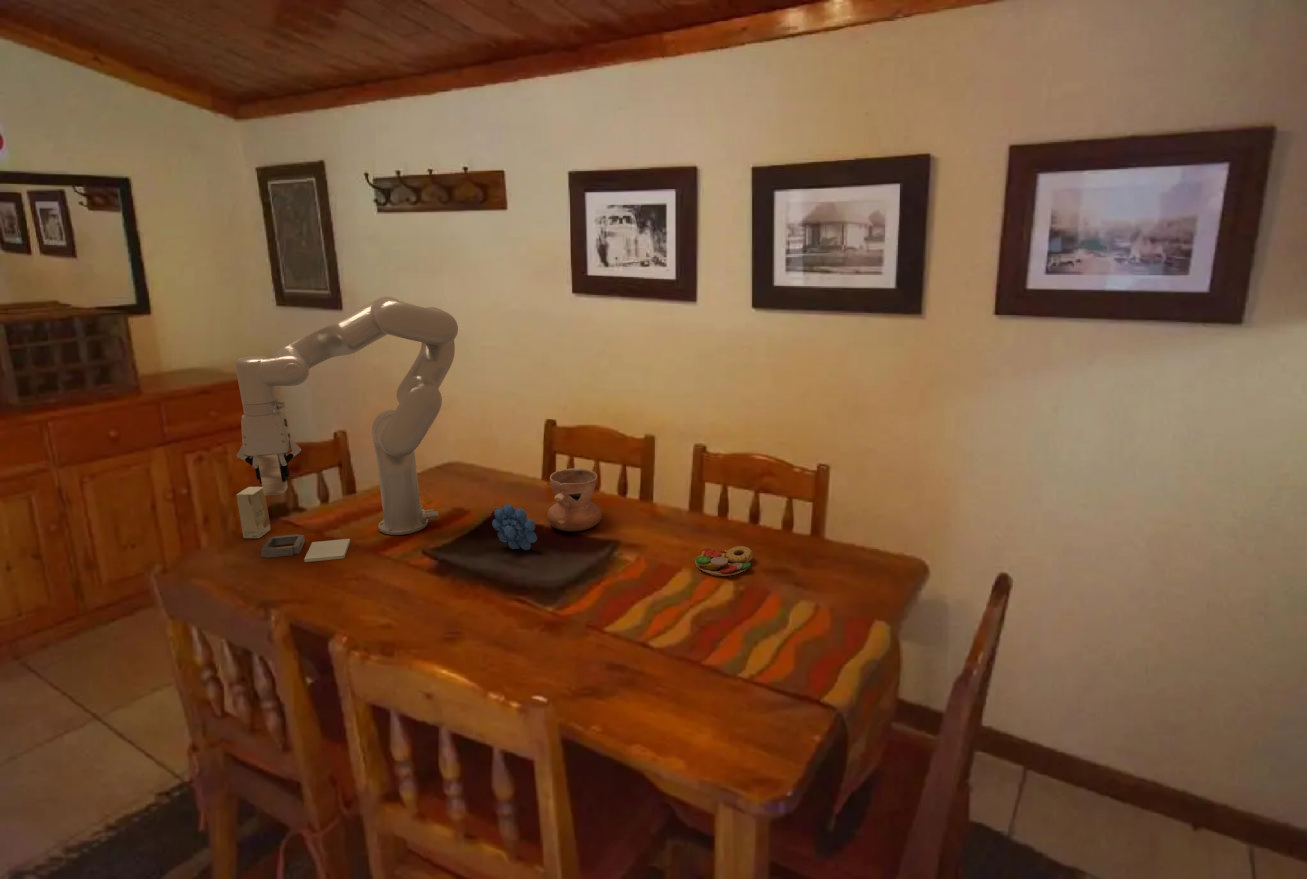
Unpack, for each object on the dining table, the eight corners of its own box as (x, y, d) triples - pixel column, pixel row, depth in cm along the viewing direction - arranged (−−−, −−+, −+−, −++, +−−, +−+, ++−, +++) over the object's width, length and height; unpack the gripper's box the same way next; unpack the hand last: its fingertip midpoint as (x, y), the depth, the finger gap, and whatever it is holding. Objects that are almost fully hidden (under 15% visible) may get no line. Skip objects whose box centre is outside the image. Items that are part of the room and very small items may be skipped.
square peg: (287, 487, 190) (281, 449, 187) (283, 493, 186) (276, 454, 183) (268, 489, 189) (261, 450, 186) (264, 495, 185) (256, 456, 182)
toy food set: (755, 558, 185) (756, 545, 184) (747, 583, 173) (747, 570, 172) (701, 552, 189) (701, 540, 188) (689, 576, 177) (689, 563, 176)
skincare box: (259, 539, 198) (252, 494, 194) (243, 539, 198) (235, 494, 194) (272, 528, 204) (264, 485, 201) (255, 528, 204) (248, 485, 201)
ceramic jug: (583, 542, 194) (582, 489, 190) (534, 532, 200) (532, 481, 196) (615, 518, 210) (614, 468, 206) (568, 509, 216) (567, 461, 212)
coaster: (350, 541, 196) (349, 538, 196) (344, 558, 187) (343, 555, 186) (312, 545, 194) (312, 542, 194) (304, 562, 185) (304, 559, 184)
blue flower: (486, 554, 188) (482, 509, 184) (498, 543, 194) (495, 499, 190) (530, 559, 185) (527, 513, 181) (541, 548, 191) (538, 503, 188)
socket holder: (305, 540, 197) (304, 533, 196) (298, 554, 189) (297, 547, 188) (270, 544, 195) (268, 536, 194) (261, 558, 187) (260, 550, 186)
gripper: (302, 402, 186) (314, 472, 192) (227, 407, 183) (241, 479, 188) (296, 409, 179) (308, 482, 185) (217, 415, 176) (232, 489, 181)
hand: (274, 480), depth 186 cm, fingers closed on square peg, 4 cm apart
